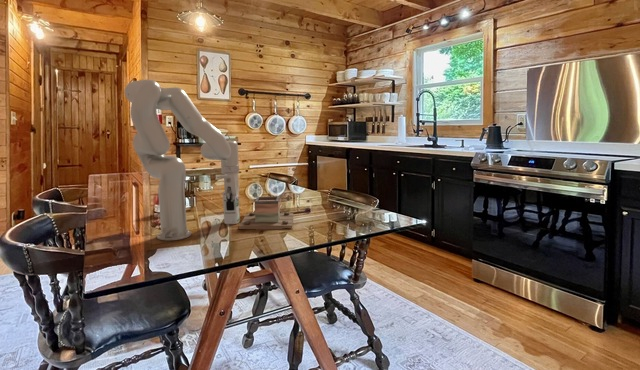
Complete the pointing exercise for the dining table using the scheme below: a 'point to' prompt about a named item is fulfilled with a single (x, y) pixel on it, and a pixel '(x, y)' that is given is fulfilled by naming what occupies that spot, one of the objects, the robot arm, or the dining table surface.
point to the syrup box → (232, 215)
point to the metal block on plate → (267, 215)
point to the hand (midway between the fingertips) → (232, 207)
